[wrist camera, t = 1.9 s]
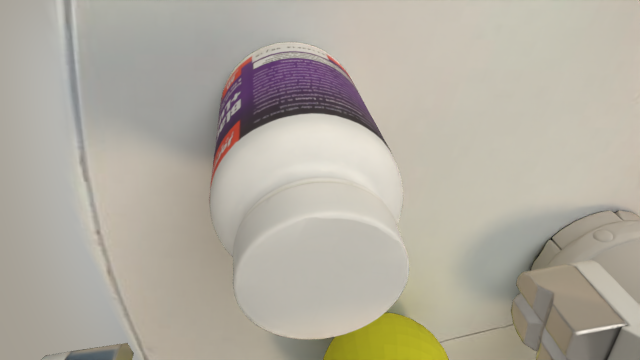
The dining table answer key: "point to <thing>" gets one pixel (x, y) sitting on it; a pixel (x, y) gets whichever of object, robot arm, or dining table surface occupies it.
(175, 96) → the dining table surface
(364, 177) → the pill bottle
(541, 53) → the dining table surface
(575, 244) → the mug
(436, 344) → the ornament
